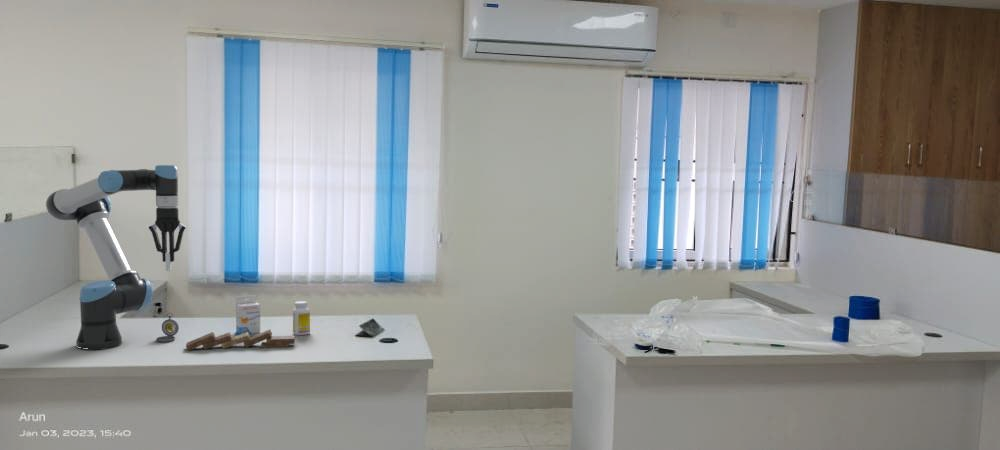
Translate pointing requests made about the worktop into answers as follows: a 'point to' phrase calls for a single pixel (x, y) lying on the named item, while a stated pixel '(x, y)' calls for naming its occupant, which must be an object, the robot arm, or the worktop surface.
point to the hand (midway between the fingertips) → (168, 270)
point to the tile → (236, 340)
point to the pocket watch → (166, 328)
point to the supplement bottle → (301, 318)
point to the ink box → (247, 315)
